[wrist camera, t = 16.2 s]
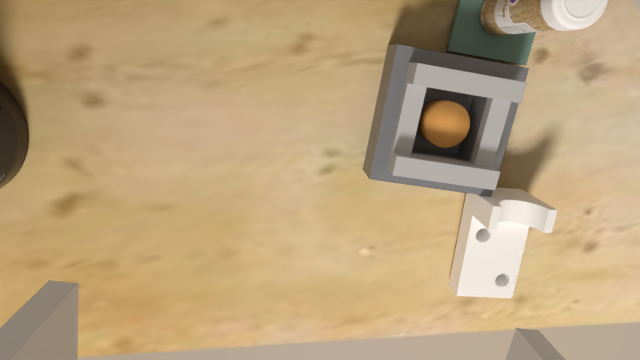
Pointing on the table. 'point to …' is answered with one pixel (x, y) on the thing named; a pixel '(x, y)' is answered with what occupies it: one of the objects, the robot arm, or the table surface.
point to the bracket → (495, 241)
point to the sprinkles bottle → (538, 15)
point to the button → (443, 123)
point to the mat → (485, 37)
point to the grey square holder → (453, 85)
